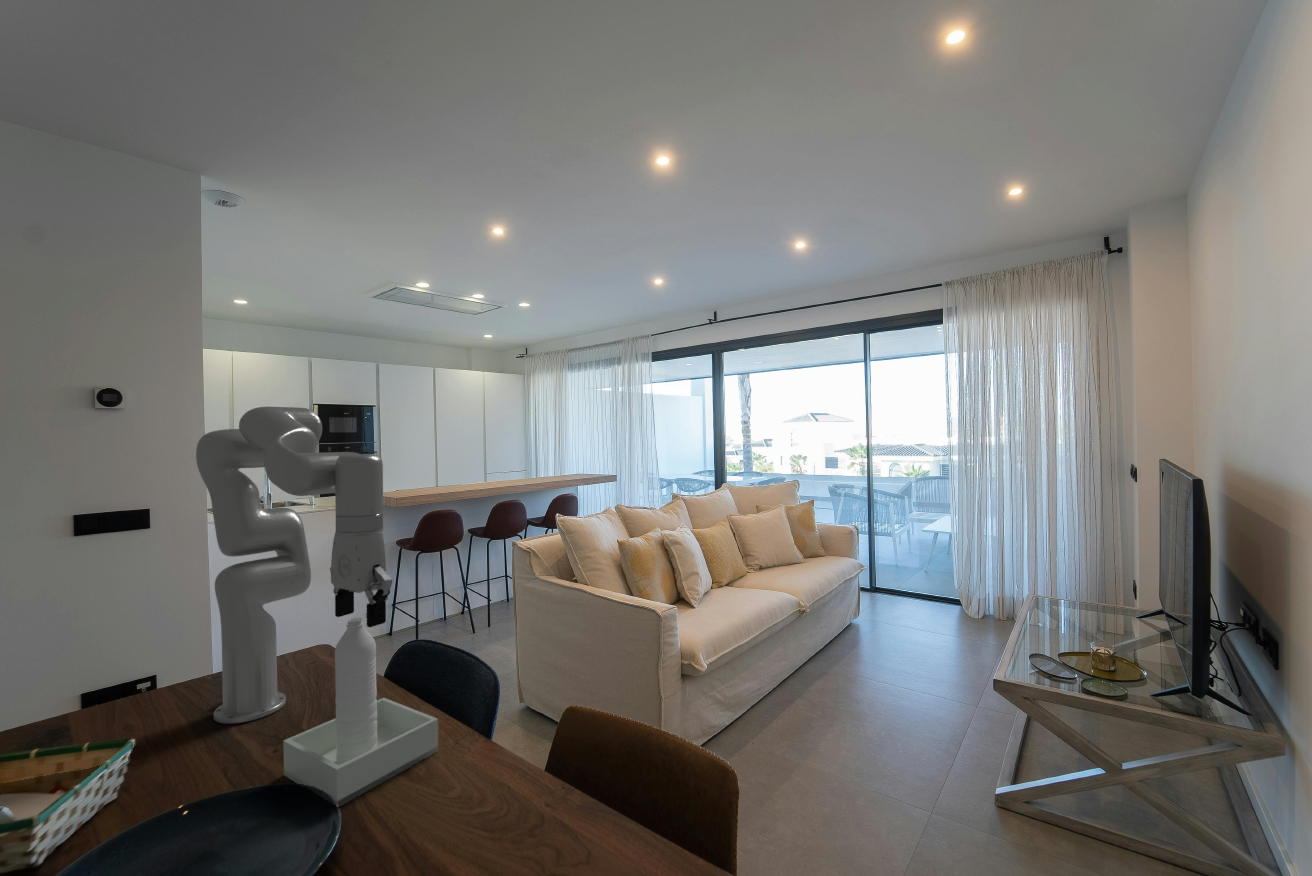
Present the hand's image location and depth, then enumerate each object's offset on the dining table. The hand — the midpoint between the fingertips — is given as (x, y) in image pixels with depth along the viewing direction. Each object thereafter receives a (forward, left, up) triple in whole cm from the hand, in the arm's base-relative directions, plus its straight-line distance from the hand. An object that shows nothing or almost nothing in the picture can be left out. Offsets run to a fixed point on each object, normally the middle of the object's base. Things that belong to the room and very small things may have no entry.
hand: (360, 619), depth 102 cm
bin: (0, 0, -26) cm, 26 cm away
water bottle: (0, 0, -25) cm, 25 cm away
